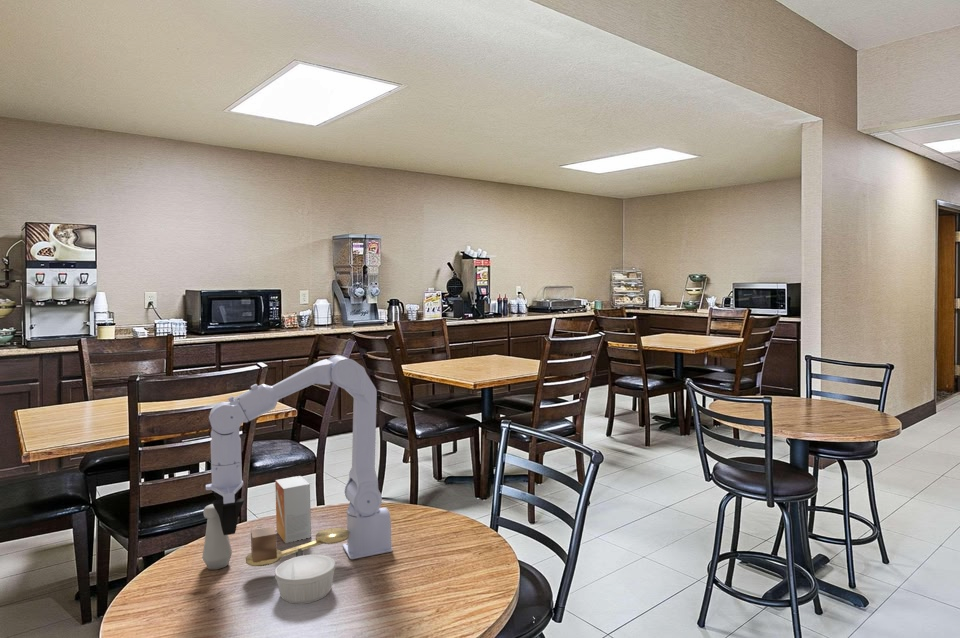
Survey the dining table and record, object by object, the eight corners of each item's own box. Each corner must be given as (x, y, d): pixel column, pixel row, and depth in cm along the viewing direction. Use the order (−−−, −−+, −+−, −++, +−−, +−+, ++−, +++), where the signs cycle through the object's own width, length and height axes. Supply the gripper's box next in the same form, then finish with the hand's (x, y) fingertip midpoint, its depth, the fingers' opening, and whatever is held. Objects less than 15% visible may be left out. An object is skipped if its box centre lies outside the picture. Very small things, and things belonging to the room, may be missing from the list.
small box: (276, 532, 148) (274, 479, 148) (302, 527, 152) (301, 475, 151) (284, 544, 141) (283, 488, 141) (312, 538, 145) (310, 483, 144)
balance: (345, 552, 136) (345, 525, 136) (353, 565, 130) (352, 537, 130) (245, 571, 127) (244, 543, 127) (247, 586, 121) (246, 556, 121)
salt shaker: (221, 571, 127) (217, 509, 127) (197, 571, 128) (193, 509, 128) (238, 560, 132) (234, 500, 132) (214, 559, 134) (210, 500, 133)
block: (274, 549, 128) (273, 526, 128) (276, 558, 124) (276, 533, 124) (251, 553, 127) (250, 530, 126) (253, 562, 122) (252, 537, 122)
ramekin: (263, 595, 118) (263, 568, 117) (313, 574, 126) (312, 549, 126) (297, 614, 111) (296, 585, 110) (347, 590, 119) (346, 564, 119)
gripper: (204, 455, 129) (206, 518, 130) (205, 473, 116) (207, 544, 117) (240, 451, 132) (241, 513, 133) (245, 469, 119) (247, 537, 120)
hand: (228, 527), depth 125 cm, fingers open, 7 cm apart
